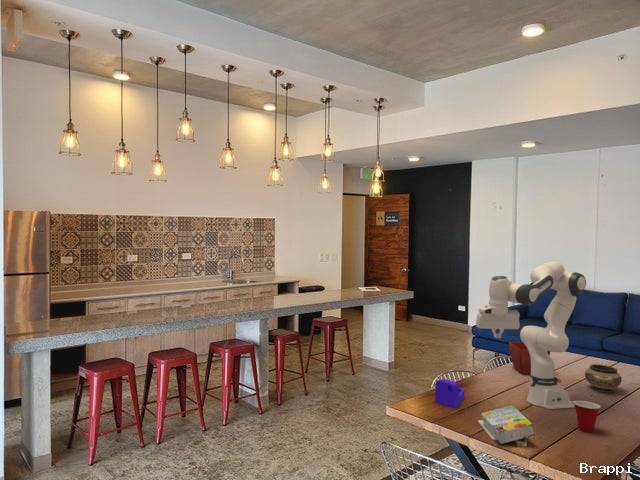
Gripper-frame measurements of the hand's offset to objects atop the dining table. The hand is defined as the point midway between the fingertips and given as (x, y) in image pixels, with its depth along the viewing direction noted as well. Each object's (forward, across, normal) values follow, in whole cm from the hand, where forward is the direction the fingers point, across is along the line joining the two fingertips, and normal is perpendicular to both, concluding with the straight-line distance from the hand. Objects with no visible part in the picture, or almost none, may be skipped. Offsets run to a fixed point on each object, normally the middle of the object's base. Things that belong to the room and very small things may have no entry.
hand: (497, 337), depth 233 cm
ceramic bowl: (+37, -75, -38) cm, 92 cm away
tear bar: (+37, +1, +24) cm, 44 cm away
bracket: (+38, +16, -16) cm, 44 cm away
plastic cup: (+37, -35, +17) cm, 54 cm away
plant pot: (+37, -46, -69) cm, 91 cm away
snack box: (+30, -4, +24) cm, 39 cm away
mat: (+37, +8, +20) cm, 43 cm away
